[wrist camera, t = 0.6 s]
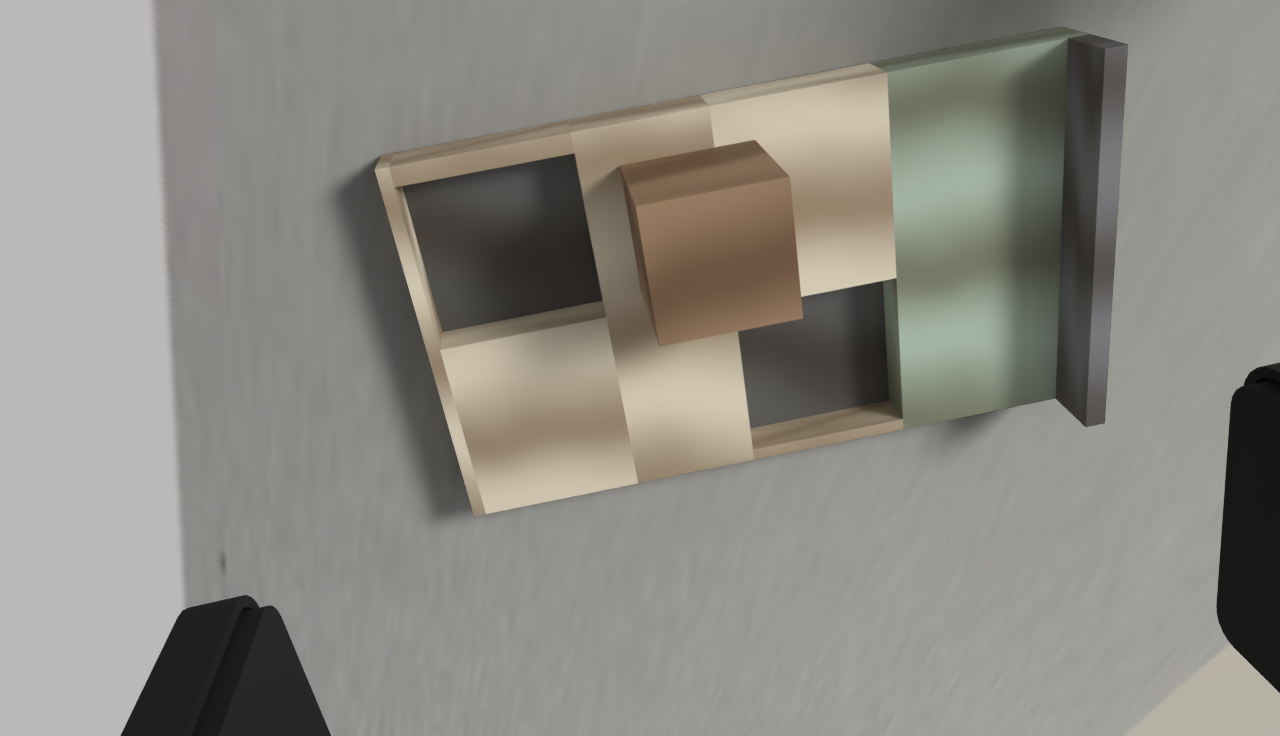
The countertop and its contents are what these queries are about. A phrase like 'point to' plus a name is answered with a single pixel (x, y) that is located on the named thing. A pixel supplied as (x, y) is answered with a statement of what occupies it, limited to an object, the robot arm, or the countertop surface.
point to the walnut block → (713, 241)
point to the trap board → (827, 260)
